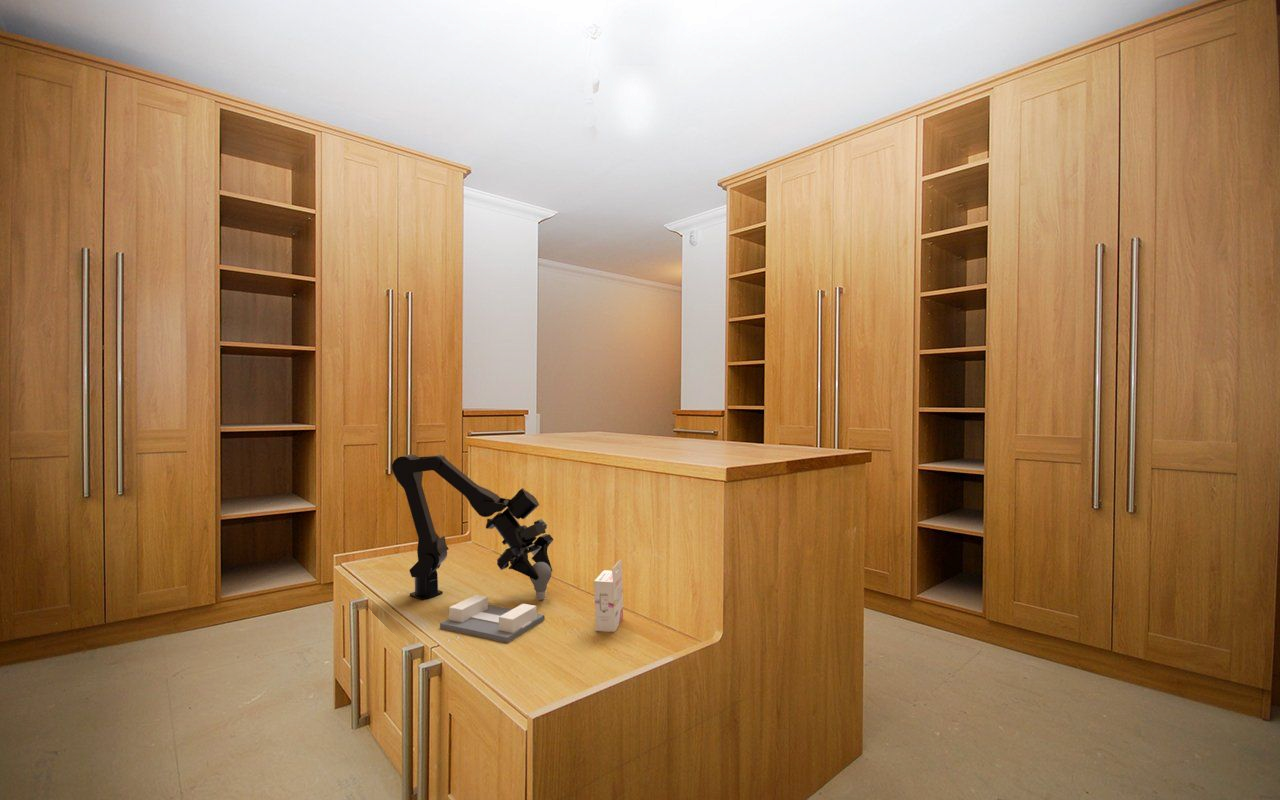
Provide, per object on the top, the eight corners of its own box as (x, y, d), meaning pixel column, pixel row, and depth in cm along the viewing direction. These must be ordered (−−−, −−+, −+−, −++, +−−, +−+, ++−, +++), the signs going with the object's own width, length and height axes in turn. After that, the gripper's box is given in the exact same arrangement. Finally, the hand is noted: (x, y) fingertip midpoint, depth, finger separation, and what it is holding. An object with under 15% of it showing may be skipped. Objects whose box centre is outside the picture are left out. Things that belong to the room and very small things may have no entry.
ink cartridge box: (603, 617, 136) (603, 557, 136) (623, 618, 135) (622, 558, 135) (594, 631, 128) (593, 567, 128) (614, 632, 127) (614, 568, 127)
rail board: (440, 628, 130) (439, 610, 130) (480, 607, 143) (480, 591, 143) (507, 643, 122) (507, 624, 122) (544, 619, 135) (544, 602, 135)
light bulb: (530, 595, 151) (530, 559, 151) (552, 595, 152) (552, 558, 152) (528, 603, 145) (527, 565, 145) (551, 602, 146) (550, 565, 146)
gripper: (505, 518, 142) (541, 566, 137) (547, 505, 159) (580, 548, 154) (481, 545, 145) (516, 593, 141) (525, 530, 162) (557, 572, 157)
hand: (544, 575), depth 148 cm, fingers closed on light bulb, 6 cm apart
